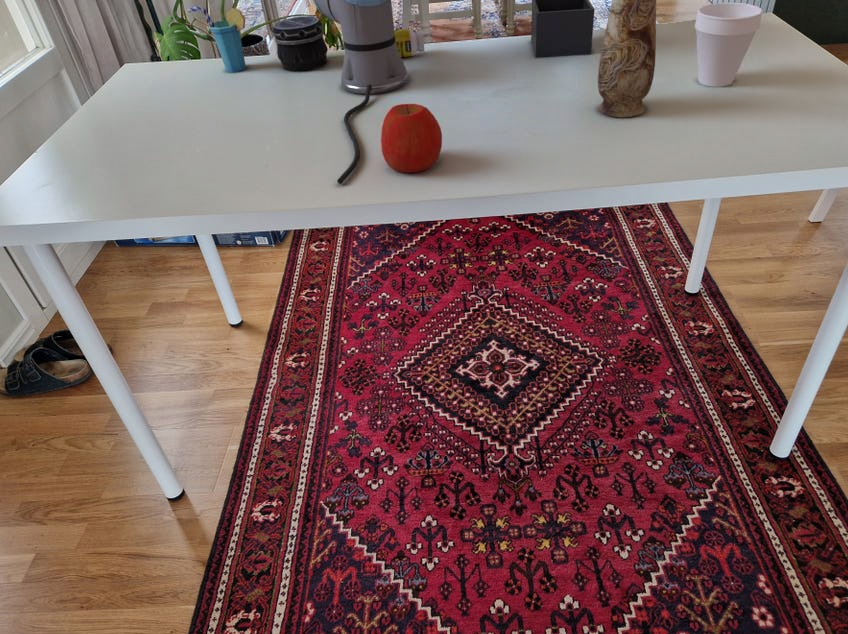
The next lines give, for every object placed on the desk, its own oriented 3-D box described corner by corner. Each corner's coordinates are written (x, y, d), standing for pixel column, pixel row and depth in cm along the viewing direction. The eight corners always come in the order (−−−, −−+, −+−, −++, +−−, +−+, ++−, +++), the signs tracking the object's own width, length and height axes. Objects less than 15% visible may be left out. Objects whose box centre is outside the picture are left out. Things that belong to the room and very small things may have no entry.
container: (270, 71, 162) (260, 28, 155) (297, 55, 170) (288, 14, 164) (313, 74, 157) (304, 30, 151) (339, 57, 166) (331, 15, 160)
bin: (591, 54, 155) (594, 9, 148) (535, 57, 156) (536, 13, 149) (583, 38, 165) (586, -5, 158) (531, 41, 166) (531, -1, 159)
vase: (590, 116, 126) (604, -63, 106) (601, 97, 133) (616, -75, 113) (644, 121, 123) (669, -64, 103) (652, 101, 130) (677, -76, 110)
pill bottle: (379, 44, 157) (424, 39, 157) (377, 26, 159) (421, 21, 160) (382, 64, 163) (425, 60, 163) (380, 47, 165) (423, 42, 165)
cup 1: (201, 75, 163) (181, 10, 153) (211, 65, 168) (192, 2, 158) (254, 72, 161) (237, 6, 152) (262, 62, 167) (247, -2, 157)
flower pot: (719, 95, 130) (734, 22, 121) (672, 81, 138) (683, 10, 129) (759, 81, 134) (777, 9, 125) (711, 67, 142) (725, -1, 133)
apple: (447, 151, 118) (443, 92, 111) (437, 178, 110) (432, 116, 103) (391, 151, 120) (383, 93, 113) (377, 177, 112) (368, 117, 105)
